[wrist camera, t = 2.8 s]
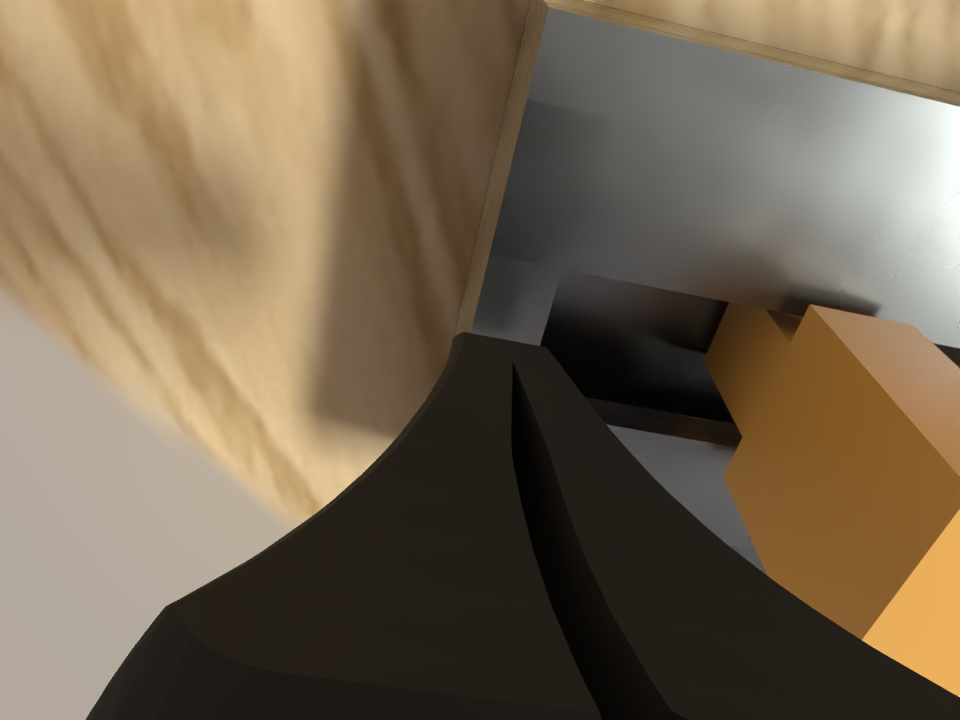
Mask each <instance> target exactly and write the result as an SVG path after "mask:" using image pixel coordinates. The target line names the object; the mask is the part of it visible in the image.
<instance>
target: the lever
mask: <svg viewBox="0 0 960 720" xmlns="http://www.w3.org/2000/svg"><path fill="white" fill-rule="evenodd" d="M704 363H705V365H706V367H707V369H708V371H709V373H710V375H711V377H712V379H713V381H714V383H715V385H716V387H717V389H718V390H719V392H720V394H721V396H722V398H723V400H724V402H725V404H726V406H727V408H728V410H729V412H730V414H731V416H732V418H733V420H734V422H735V423H736V425H737V427H738V429H739V431H740V433H741V435H742V439H741V441H740V443H739V445H738V447H737V449H736V451H735V453H734V455H733V457H732V459H731V461H730V463H729V465H728V467H727V469H726V471H725V473H724V475H723V477H724V479H725V481H726V484H727V486H728V488H729V490H730V493H731V495H732V497H733V499H734V502H735V504H736V506H737V508H738V511H739V513H740V515H741V517H742V520H743V522H744V524H745V526H746V529H747V531H748V533H749V535H750V538H751V540H752V542H753V544H754V547H755V549H756V551H757V553H758V556H759V558H760V560H761V562H762V565H763V567H764V569H765V571H766V574H767V576H769V577H770V578H771V579H772V580H774V581H775V582H776V583H778V584H779V585H781V586H782V587H783V588H785V589H786V590H788V591H789V592H791V593H792V594H793V595H795V596H796V597H798V598H799V599H800V600H802V601H803V602H805V603H806V604H808V605H809V606H810V607H812V608H813V609H815V610H816V611H818V612H819V613H821V614H822V615H824V616H826V617H827V618H829V619H830V620H832V621H833V622H835V623H836V624H838V625H839V626H841V627H842V628H844V629H845V630H847V631H848V632H850V633H852V634H853V635H855V636H856V637H858V638H859V639H861V640H862V641H864V642H865V643H867V644H869V645H870V646H872V647H873V648H875V649H877V650H878V651H880V652H882V653H883V654H885V655H887V656H889V657H890V658H892V659H894V660H896V661H897V662H899V663H901V664H902V665H904V666H906V667H908V668H909V669H911V670H913V671H915V672H916V673H918V674H920V675H922V676H923V677H925V678H927V679H929V680H930V681H932V682H934V683H936V684H937V685H939V686H941V687H943V688H944V689H946V690H948V691H950V692H951V693H953V694H955V695H957V696H959V695H960V368H959V367H958V366H957V365H956V364H955V363H954V362H953V361H951V360H950V359H949V358H948V357H947V356H946V355H945V354H944V353H943V352H942V351H941V350H940V349H939V348H937V347H936V346H935V345H934V344H933V343H932V342H931V341H930V340H929V339H928V338H927V337H926V336H924V335H923V334H922V333H921V332H920V331H919V330H918V329H917V328H916V327H915V326H914V325H910V324H905V323H900V322H896V321H891V320H886V319H881V318H876V317H871V316H866V315H861V314H856V313H851V312H846V311H841V310H836V309H831V308H826V307H821V306H817V305H812V304H810V305H809V307H808V309H807V311H806V313H805V315H804V317H801V316H796V315H791V314H786V313H781V312H776V311H771V310H766V309H761V308H756V307H751V306H746V305H741V304H736V303H731V302H729V304H728V306H727V308H726V311H725V313H724V315H723V317H722V320H721V322H720V324H719V326H718V329H717V331H716V333H715V336H714V338H713V340H712V342H711V345H710V347H709V349H708V351H707V354H706V356H705V358H704Z"/></svg>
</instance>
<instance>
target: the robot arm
mask: <svg viewBox="0 0 960 720" xmlns="http://www.w3.org/2000/svg"><path fill="white" fill-rule="evenodd" d="M86 720H960V697H958V696H957V695H955V694H953V693H951V692H950V691H948V690H946V689H944V688H943V687H941V686H939V685H937V684H936V683H934V682H932V681H930V680H929V679H927V678H925V677H923V676H922V675H920V674H918V673H916V672H915V671H913V670H911V669H909V668H908V667H906V666H904V665H902V664H901V663H899V662H897V661H896V660H894V659H892V658H890V657H889V656H887V655H885V654H883V653H882V652H880V651H878V650H877V649H875V648H873V647H872V646H870V645H869V644H867V643H865V642H864V641H862V640H861V639H859V638H858V637H856V636H855V635H853V634H852V633H850V632H848V631H847V630H845V629H844V628H842V627H841V626H839V625H838V624H836V623H835V622H833V621H832V620H830V619H829V618H827V617H826V616H824V615H822V614H821V613H819V612H818V611H816V610H815V609H813V608H812V607H810V606H809V605H808V604H806V603H805V602H803V601H802V600H800V599H799V598H798V597H796V596H795V595H793V594H792V593H791V592H789V591H788V590H786V589H785V588H783V587H782V586H781V585H779V584H778V583H776V582H775V581H774V580H772V579H771V578H770V577H769V576H767V575H766V574H765V573H763V572H762V571H761V570H759V569H758V568H757V567H756V566H754V565H753V564H752V563H750V562H749V561H748V560H746V559H745V558H744V557H743V556H741V555H740V554H739V553H737V552H736V551H735V550H734V549H732V548H731V547H730V546H729V545H727V544H726V543H725V542H724V541H722V540H721V539H720V538H719V537H718V536H716V535H715V534H714V533H713V532H712V531H710V530H709V529H708V528H707V527H706V526H705V525H704V524H703V523H701V522H700V521H699V520H698V519H697V518H696V517H695V516H694V515H693V514H692V513H690V512H689V511H688V510H687V509H686V508H685V507H684V506H683V505H682V504H681V503H680V502H678V501H677V500H676V499H675V498H674V497H673V496H672V495H671V494H670V493H669V492H668V491H667V490H666V489H665V488H664V487H663V486H662V485H661V484H660V483H659V482H658V481H657V480H656V479H655V478H654V477H653V476H652V475H651V474H650V473H649V472H648V471H647V470H646V469H645V468H644V467H643V465H642V464H641V463H640V462H639V461H638V460H637V459H636V458H635V457H634V456H633V455H632V454H631V453H630V451H629V450H628V449H627V448H626V447H625V446H624V445H623V444H622V442H621V441H620V440H619V439H618V438H617V437H616V435H615V434H614V433H613V432H612V431H611V430H610V428H609V427H608V426H607V425H606V424H605V422H604V421H603V420H602V419H601V417H600V416H599V415H598V414H597V412H596V411H595V410H594V409H593V407H592V406H591V405H590V404H589V402H588V401H587V400H586V398H585V397H584V396H583V394H582V393H581V392H580V391H579V389H578V388H577V387H576V385H575V384H574V383H573V381H572V380H571V379H570V377H569V376H568V375H567V373H566V372H565V371H564V369H563V368H562V367H561V365H560V364H559V363H558V361H557V360H556V359H555V357H554V356H553V355H552V353H551V352H550V351H549V350H548V349H547V347H542V346H537V345H532V344H526V343H521V342H515V341H510V340H505V339H499V338H494V337H489V336H483V335H478V334H472V333H467V332H462V333H460V334H458V335H457V336H455V337H454V338H453V342H452V347H451V351H450V356H449V360H448V363H447V365H446V367H445V369H444V371H443V373H442V375H441V376H440V378H439V380H438V381H437V383H436V385H435V386H434V388H433V389H432V391H431V393H430V394H429V396H428V398H427V399H426V401H425V402H424V404H423V405H422V406H421V408H420V409H419V410H418V412H417V413H416V414H415V415H414V417H413V418H412V419H411V421H410V422H409V423H408V424H407V426H406V427H405V428H404V430H403V431H402V432H401V433H400V435H399V436H398V437H397V438H396V439H395V440H394V442H393V443H392V444H391V445H390V446H389V447H388V448H387V449H386V450H385V452H384V453H383V454H382V455H381V456H380V457H379V458H378V459H377V460H376V461H375V462H374V463H373V464H372V465H371V466H370V467H369V468H368V469H367V470H366V471H365V472H364V473H363V474H362V475H361V476H359V477H358V478H357V479H356V480H355V481H354V482H353V483H352V484H350V485H349V486H348V487H347V488H346V489H345V490H344V491H343V492H341V493H340V494H339V495H338V496H337V497H336V498H335V499H333V500H332V501H331V502H330V503H329V504H327V505H326V506H325V507H324V508H322V509H321V510H320V511H319V512H317V513H316V514H315V515H313V516H312V517H311V518H309V519H308V520H306V521H305V522H303V523H302V524H301V525H299V526H298V527H296V528H295V529H293V530H292V531H291V532H289V533H288V534H286V535H285V536H284V537H282V538H281V539H279V540H278V541H276V542H275V543H274V544H272V545H271V546H269V547H268V548H266V549H265V550H264V551H262V552H261V553H259V554H257V555H256V556H254V557H253V558H251V559H249V560H248V561H246V562H245V563H243V564H241V565H239V566H238V567H236V568H234V569H232V570H230V571H229V572H227V573H225V574H223V575H222V576H220V577H218V578H216V579H214V580H213V581H211V582H209V583H207V584H206V585H204V586H202V587H200V588H199V589H197V590H195V591H193V592H192V593H190V594H188V595H186V596H184V597H183V598H181V599H179V600H177V601H175V602H173V603H171V604H169V605H168V606H166V607H165V608H164V609H163V610H162V612H161V613H160V614H159V615H158V617H157V618H156V619H155V620H154V622H153V623H152V624H151V625H150V627H149V628H148V629H147V631H146V632H145V633H144V635H143V636H142V637H141V639H140V640H139V641H138V642H137V644H136V645H135V646H134V648H133V649H132V650H131V652H130V653H129V654H128V656H127V657H126V659H125V660H124V662H123V663H122V665H121V666H120V667H119V669H118V670H117V672H116V673H115V674H114V676H113V677H112V679H111V680H110V682H109V683H108V685H107V687H106V688H105V690H104V691H103V693H102V695H101V696H100V698H99V700H98V701H97V703H96V704H95V706H94V707H93V709H92V710H91V712H90V713H89V715H88V717H87V718H86Z"/></svg>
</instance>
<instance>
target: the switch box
mask: <svg viewBox="0 0 960 720" xmlns="http://www.w3.org/2000/svg"><path fill="white" fill-rule="evenodd" d="M729 302H731V303H736V304H741V305H746V306H751V307H756V308H761V309H766V310H771V311H776V312H781V313H786V314H791V315H796V316H801V317H804V315H805V313H806V311H807V309H808V307H809V305H810V304H812V305H817V306H821V307H826V308H831V309H836V310H841V311H846V312H851V313H856V314H861V315H866V316H871V317H876V318H881V319H886V320H891V321H896V322H900V323H905V324H910V325H914V326H915V327H916V328H917V329H918V330H919V331H920V332H921V333H922V334H923V335H924V336H926V337H927V338H928V339H929V340H930V341H931V342H932V343H933V344H934V345H935V346H936V347H937V348H939V349H940V350H941V351H942V352H943V353H944V354H945V355H946V356H947V357H948V358H949V359H950V360H951V361H953V362H954V363H955V364H956V365H957V366H958V367H959V368H960V93H957V92H953V91H949V90H945V89H941V88H937V87H933V86H929V85H925V84H921V83H917V82H912V81H908V80H904V79H900V78H896V77H892V76H888V75H884V74H880V73H876V72H872V71H868V70H863V69H859V68H855V67H851V66H847V65H843V64H839V63H835V62H831V61H827V60H823V59H818V58H814V57H810V56H806V55H802V54H798V53H794V52H790V51H786V50H782V49H778V48H774V47H769V46H765V45H761V44H757V43H753V42H749V41H745V40H741V39H737V38H733V37H729V36H724V35H720V34H716V33H712V32H708V31H704V30H700V29H696V28H692V27H688V26H684V25H680V24H675V23H671V22H667V21H663V20H659V19H655V18H651V17H647V16H643V15H639V14H635V13H631V12H626V11H622V10H618V9H614V8H610V7H606V6H602V5H598V4H594V3H590V2H586V1H581V0H531V2H530V6H529V10H528V15H527V19H526V24H525V28H524V32H523V37H522V41H521V45H520V50H519V54H518V59H517V63H516V67H515V72H514V76H513V81H512V85H511V89H510V94H509V98H508V103H507V107H506V111H505V116H504V120H503V125H502V129H501V133H500V138H499V142H498V146H497V151H496V155H495V160H494V164H493V168H492V173H491V177H490V182H489V186H488V190H487V195H486V199H485V204H484V208H483V212H482V217H481V221H480V226H479V230H478V234H477V239H476V243H475V247H474V252H473V256H472V261H471V265H470V269H469V274H468V278H467V283H466V287H465V291H464V296H463V300H462V305H461V309H460V313H459V318H458V322H457V327H456V331H455V335H454V337H455V336H457V335H458V334H460V333H462V332H467V333H472V334H478V335H483V336H489V337H494V338H499V339H505V340H510V341H515V342H521V343H526V344H532V345H537V346H542V347H547V349H548V350H549V351H550V352H551V353H552V355H553V356H554V357H555V359H556V360H557V361H558V363H559V364H560V365H561V367H562V368H563V369H564V371H565V372H566V373H567V375H568V376H569V377H570V379H571V380H572V381H573V383H574V384H575V385H576V387H577V388H578V389H579V391H580V392H581V393H582V394H583V396H584V397H585V398H586V400H587V401H588V402H589V404H590V405H591V406H592V407H593V409H594V410H595V411H596V412H597V414H598V415H599V416H600V417H601V419H602V420H603V421H604V422H605V424H606V425H607V426H608V427H609V428H610V430H611V431H612V432H613V433H614V434H615V435H616V437H617V438H618V439H619V440H620V441H621V442H622V444H623V445H624V446H625V447H626V448H627V449H628V450H629V451H630V453H631V454H632V455H633V456H634V457H635V458H636V459H637V460H638V461H639V462H640V463H641V464H642V465H643V467H644V468H645V469H646V470H647V471H648V472H649V473H650V474H651V475H652V476H653V477H654V478H655V479H656V480H657V481H658V482H659V483H660V484H661V485H662V486H663V487H664V488H665V489H666V490H667V491H668V492H669V493H670V494H671V495H672V496H673V497H674V498H675V499H676V500H677V501H678V502H680V503H681V504H682V505H683V506H684V507H685V508H686V509H687V510H688V511H689V512H690V513H692V514H693V515H694V516H695V517H696V518H697V519H698V520H699V521H700V522H701V523H703V524H704V525H705V526H706V527H707V528H708V529H709V530H710V531H712V532H713V533H714V534H715V535H716V536H718V537H719V538H720V539H721V540H722V541H724V542H725V543H726V544H727V545H729V546H730V547H731V548H732V549H734V550H735V551H736V552H737V553H739V554H740V555H741V556H743V557H744V558H745V559H746V560H748V561H749V562H750V563H752V564H753V565H754V566H756V567H757V568H758V569H759V570H761V571H762V572H763V573H765V574H766V571H765V569H764V567H763V565H762V562H761V560H760V558H759V556H758V553H757V551H756V549H755V547H754V544H753V542H752V540H751V538H750V535H749V533H748V531H747V529H746V526H745V524H744V522H743V520H742V517H741V515H740V513H739V511H738V508H737V506H736V504H735V502H734V499H733V497H732V495H731V493H730V490H729V488H728V486H727V484H726V481H725V479H724V477H723V475H724V473H725V471H726V469H727V467H728V465H729V463H730V461H731V459H732V457H733V455H734V453H735V451H736V449H737V447H738V445H739V443H740V441H741V439H742V435H741V433H740V431H739V429H738V427H737V425H736V423H735V422H734V420H733V418H732V416H731V414H730V412H729V410H728V408H727V406H726V404H725V402H724V400H723V398H722V396H721V394H720V392H719V390H718V389H717V387H716V385H715V383H714V381H713V379H712V377H711V375H710V373H709V371H708V369H707V367H706V365H705V363H704V358H705V356H706V354H707V351H708V349H709V347H710V345H711V342H712V340H713V338H714V336H715V333H716V331H717V329H718V326H719V324H720V322H721V320H722V317H723V315H724V313H725V311H726V308H727V306H728V304H729ZM766 575H767V574H766Z"/></svg>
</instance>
